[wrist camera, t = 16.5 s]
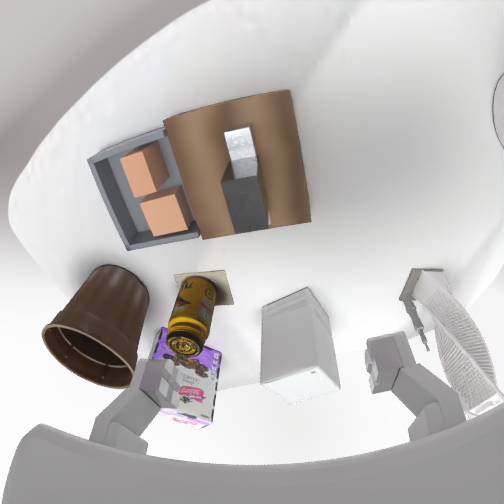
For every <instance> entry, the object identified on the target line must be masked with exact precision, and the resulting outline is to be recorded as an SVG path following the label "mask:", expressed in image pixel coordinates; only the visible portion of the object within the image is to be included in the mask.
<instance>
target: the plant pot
mask: <svg viewBox="0 0 504 504" xmlns="http://www.w3.org/2000/svg"><path fill="white" fill-rule="evenodd" d="M148 305H149V294H148V291H147V289H146V287H145V286H143V285H142V284H141V283H140V281H139V279H138V278H137V277H136V276H135V275H134V274H132V273H131V272H129V271H127V270H125V269H123V268H121V267H118V266H113V265H103V266H101V267H99V268H97V269H95V270H94V271H93V272H92V273H91V275H90V276H89V277H88V279H87V280H86V281H85V282H84V284H83V285H82V286H81V287H80V289H79V290H78V291H77V292H76V294H75V295H74V296H73V298H72V299H71V300H70V302H69V303H68V304H67V305H66V307H65V308H64V309H63V310H62V311H60V312H59V313H58V314H57V315H56V317H55V318H54V319H53V321H52V322H51V323H50V324H48V325H46V326H45V327H44V329H43V330H42V338H43V341H44V343H45V345H46V347H47V349H48V350H49V352H50V353H51V354H52V355H53V356H54V357H55V358H56V359H57V360H58V362H60V363H61V364H62V365H63V366H64V367H66V368H67V369H68V370H70V371H71V372H73V373H74V374H76V375H78V376H79V377H81V378H84V379H85V380H88V381H90V382H92V383H95V384H97V385H100V386H104V387H108V388H114V389H124V388H129V387H130V383H131V380H132V377H133V374H134V371H135V368H136V363H137V358H138V355H137V349H138V344H139V340H140V336H141V331H142V327H143V323H144V319H145V316H146V312H147V308H148Z"/></svg>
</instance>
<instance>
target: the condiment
mask: <svg viewBox="0 0 504 504" xmlns="http://www.w3.org/2000/svg"><path fill="white" fill-rule="evenodd" d="M174 278H175V280H176V282H177V284H178V287H179V289H180V290H179V293H178V296H177V298H176V302H175V305H174V308H173V311H172V314H171V317H170V320H169V323H168V330H169V331H168V336H167V338H166V344H167V346H168V348H169V349H170V350H171V351H173V352H174V353H176V354H178V355H180V356H184V357H196V356H198V355H199V354H200V353H201V352H202V351H203V349H204V348H203V347H204V344H205V340H206V339H207V338H208V336H209V332H210V326H211V321H212V316H213V311H214V306H217V305H234V303H233V299H232V295H231V292H230V288H229V284H228V282H227V278H226V274H225V271H224V270H223V271H214V272H202V273H188V274H178V275H174ZM212 280H213V281H212ZM214 281H216V282H214Z"/></svg>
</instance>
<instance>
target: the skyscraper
mask: <svg viewBox="0 0 504 504" xmlns="http://www.w3.org/2000/svg"><path fill="white" fill-rule="evenodd" d="M399 300H400V301H403V302H404V304H405V307H406V311H407V313H408V314H409V315H410V317H411V319H412V321H413V324H414V327H415V331H416V332H417V333H419V334H420V336H421V339H422V342H423V344H425V345H426V348H427V351H430V350H429V348H428V346H427V339H426V337H425V335H424V333H423V329H424V326H423V325H422V323H421V321H420V319H419V317H418V315H417V311H416V307H415V305H414V304H413V302H412V300H417V301H418V302H419V303H420V304H421V305H422V306H423V307H424V308H425V310H426V311H427V312H428V313H429V314H430V315H431V316H432V318H433V321H434V328H435V335H436V342H437V347H438V352H439V356H440V360H441V363H442V366H443V369H444V372H445V375H446V377H447V379H448V381H449V383H450V385H451V388H452V389H453V390H454V391H456V392H457V393H458V395H459V398H460V401H461V405H462V408H463V409H464V411H465V413H466V414H468V419H472V418H474V417H476V416H478V415H480V414H482V413H484V412H486V411H488V410H490V409H492V408H494V407H496V406H497V405H498V404H499V402H500V400H499V396H500V397H501V398H502V399H503V400H504V394H503V393H502V392H501V391H500V390H499V389H498V387H497V382H496V376H495V372H494V367H493V364H492V360H491V357H490V354H489V351H488V348H487V346H486V343H485V341H484V339H483V337H482V335H481V333H480V331H479V329H478V328H477V326H476V325H475V323H474V321H473V320H472V319H471V318H470V316H469V314H468V313H467V312H466V311H465V309H464V308H463V307H462V306H461V305H460V304H459V303H458V301H457V300H456V299H455V298H454V297H453V296H452V294H451V291H450V288H449V285H448V282H447V279H446V276H445V274H444V271H443V269H412V270H411V273H410V275H409V277H408V280H407V282H406V284H405V287H404V289H403V291H402V293H401V295H400V298H399ZM496 401H497V403H496V404H495V405H493V403H494V402H496Z"/></svg>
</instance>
